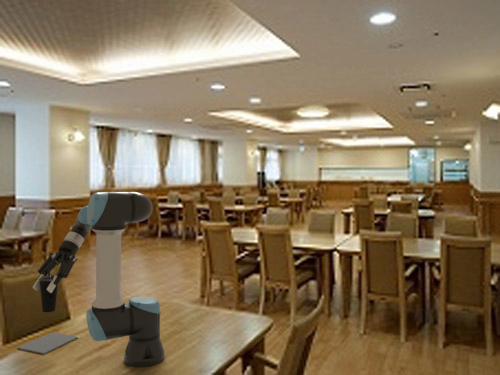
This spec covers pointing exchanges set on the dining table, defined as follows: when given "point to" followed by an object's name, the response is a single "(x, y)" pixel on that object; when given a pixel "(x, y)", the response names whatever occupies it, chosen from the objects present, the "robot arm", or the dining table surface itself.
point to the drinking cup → (46, 296)
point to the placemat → (48, 343)
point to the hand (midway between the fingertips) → (41, 290)
